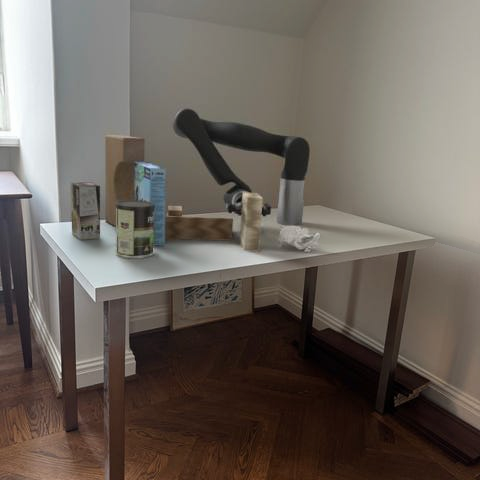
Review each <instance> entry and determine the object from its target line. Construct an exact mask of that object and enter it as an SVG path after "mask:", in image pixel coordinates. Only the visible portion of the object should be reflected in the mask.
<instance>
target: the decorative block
mask: <svg viewBox="0 0 480 480" xmlns="http://www.w3.org/2000/svg"><path fill="white" fill-rule="evenodd" d="M145 143H146V142H145V138H142V137H138V136H137V137H135V136H129V135H119V134H118V135H116V134H106V135H105V145H104V146H105V147H104V148H105V159H104V160H105V165H104V166H105V169H104V170H105V222H106V223H108V224H110V225H112V226H114V227H115V228H116V202H119V201H128V200H135V162H145V146H146V145H145Z"/></svg>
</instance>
